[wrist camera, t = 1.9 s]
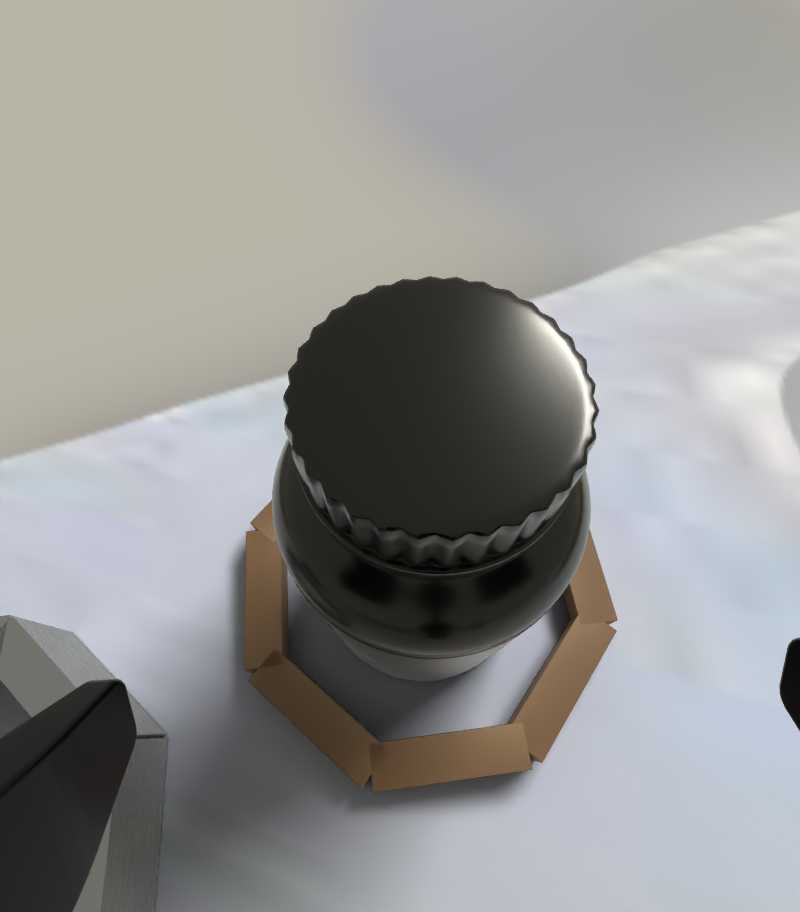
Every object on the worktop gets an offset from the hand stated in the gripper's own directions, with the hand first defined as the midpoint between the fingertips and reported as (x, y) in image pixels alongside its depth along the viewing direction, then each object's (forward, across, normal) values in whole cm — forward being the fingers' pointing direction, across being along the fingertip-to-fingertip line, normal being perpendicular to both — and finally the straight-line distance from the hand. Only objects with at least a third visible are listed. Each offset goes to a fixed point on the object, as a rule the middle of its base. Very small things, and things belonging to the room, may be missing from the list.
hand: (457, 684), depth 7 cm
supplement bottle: (+10, 0, +5) cm, 12 cm away
